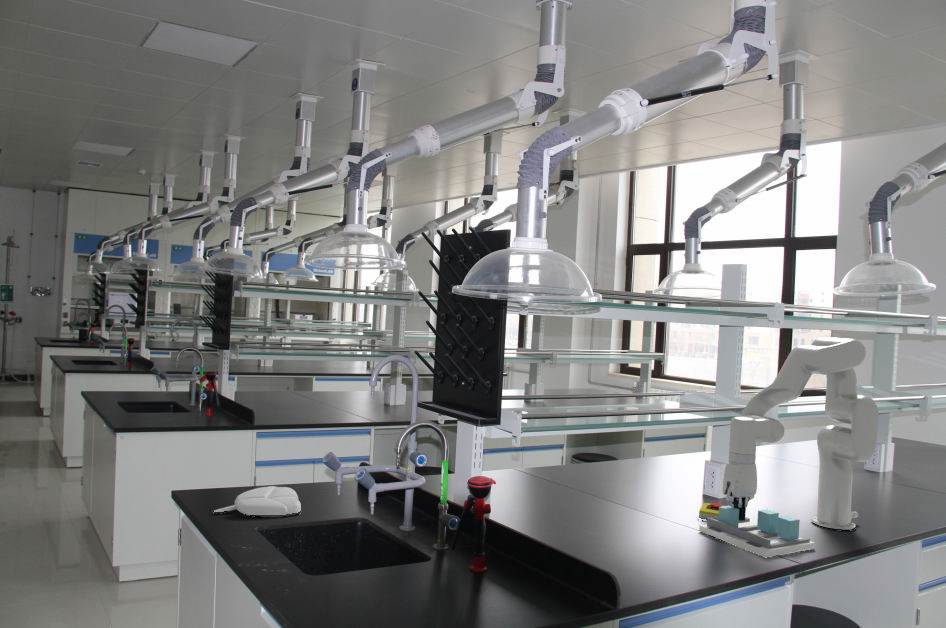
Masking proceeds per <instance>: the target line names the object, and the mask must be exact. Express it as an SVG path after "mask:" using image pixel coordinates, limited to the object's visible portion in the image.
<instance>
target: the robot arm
mask: <svg viewBox="0 0 946 628" xmlns="http://www.w3.org/2000/svg"><path fill="white" fill-rule="evenodd" d="M866 355H867V351H866V347H865V345H864V344H863V343H862V342H861V341H860V340H857V339H854V338H843V337H842V338H841V337H831V336H830V337H829V336H827V337H818V338H815V339H814V340H813V341H812V343H811V345H806V344H804V345H797V346H795V347H793V349H791V350H790V352H789V354H788V355H787V356H786V357H787V358H786V359H785V360H784V363H783V365H782V366H781V368H780V370H779V372H778V373H777V375H776V376H775V379H774V380H773V382H772V383H771V384H769V385H768V386H766V387H765V388H764V389H762V390H761V391H759V392H758V393H757V394H755V395H754V396H753V397H751V399H749V401H748V403H747V404H746V406H745V407H744V409H743V411H742V412H741V415H740V416H734V417H732V418H731V419H730V424H729V425H730V427H729V449H728V450H729V451H728V462H726V464H725V469H724V473H723V480H722V494H723V495H726V496H725V500H726V501H728V502H730V503H731V505H732V506H733V507H734V508H737V509H739V521H742V520H745V518H746V510H747V509H746V508H748V505H749V502H750V501H751V500H753V499H754V498H755V495H756V494H757V490H758V472H757V471H758V470H757V464H756V458H757V442H759V443H767V444H775V443H777V442H779V441H781V440H783V439H782V438H783V437H784V436H785V428H784V425H783V424H782V422H780V421H779V420H777V419H775V418H772V417H768V416H765V415H766V414H767V413H768V412H769V411H770V410H771V409H773V408H775V407H777V406H778V405H782V404H785V403H788V402H792V401H794V400H796V399H798V398H800V397H801V394H802V393H803V391H804V389H805V387H806V385H807V384H808V382H809V380H810V378H811V377H812V375H814V374H815V375H822V376H823V375H824V376H826V387H825V388H826V391H825V399H824V400H825V401H824V403H825V404H824V411H825V412H824V414H825V416H827V418H828V419H830V420H831V421H834V422H839V423H843V424H848V425H851V428H850V427H846V426H841V425H835V424H834V425H826V426H823V427H822V428H821V429H820V430H819V431H818V433H817V438H816V443H817V450H818V457H819V459H818V461H819V465H818V466H819V469H818V471H819V472H818V484H817V485H818V486H817V487H818V489H817V490H818V492H817V507H816V508H817V510H816V515H815V516H812V517H811V519H810V520H812V521H811V523H812V522H814V523H816V524H818V525H822V526H825V527H830V528H838V529H852V528H855V527H856V523H854V522H852V520H853V519H856V518H858V517H859V512H857V511H851V510H852V497H853V496H852V493H853V491H852V490H853V479H854V478H853V477H854V476H853V468H852V463H851V461H854V462H859V463H866V462H868V461H870V460H871V459H873V457H874V456H875V453H876V449H877V444H878V431H879V417H880V413H879V408H878V404H877V403H876V401H875V400H874V399H873V398H872V397H869V396H867V395H864V394H857V393H858V392H857V384H858V383H857V373H856V371H855V369H854V368H856V367H858V366H860V365H861V364H862V363H863V362H864V360H865V359H866ZM856 528H857V527H856ZM856 528H855V529H856Z"/></svg>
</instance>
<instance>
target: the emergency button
mask: <svg viewBox="0 0 946 628" xmlns="http://www.w3.org/2000/svg"><path fill="white" fill-rule="evenodd" d="M722 506H724V505H723V504H722V503H716V502H711V503H710V502H709V503H708V502H704V503H703V504H702V506H701V507H700V509H699V511H698V512H699V513H698V518H701V519H706V520H707V518H712V519H715V520H718V516H719V507H722Z"/></svg>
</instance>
